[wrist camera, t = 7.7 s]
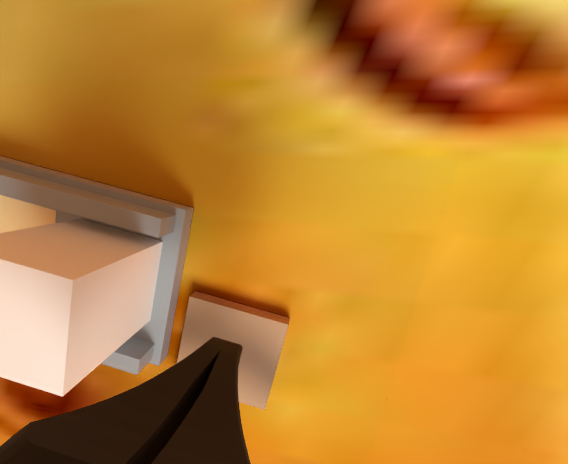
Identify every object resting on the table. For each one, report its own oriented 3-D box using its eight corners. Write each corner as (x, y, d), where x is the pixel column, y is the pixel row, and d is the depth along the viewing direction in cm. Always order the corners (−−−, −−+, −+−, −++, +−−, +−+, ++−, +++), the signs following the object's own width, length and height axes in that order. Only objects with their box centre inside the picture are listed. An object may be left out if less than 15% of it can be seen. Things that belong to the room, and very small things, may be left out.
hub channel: (167, 355, 18) (127, 404, 14) (-27, 297, 19) (-114, 328, 15) (193, 208, 16) (155, 218, 12) (-26, 149, 17) (-127, 140, 13)
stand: (266, 399, 18) (264, 409, 17) (179, 373, 19) (173, 381, 18) (289, 317, 17) (288, 324, 16) (195, 290, 17) (189, 296, 16)
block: (162, 241, 16) (73, 279, 10) (150, 320, 17) (62, 396, 11) (80, 218, 16) (-54, 243, 10) (73, 297, 17) (-53, 360, 11)
